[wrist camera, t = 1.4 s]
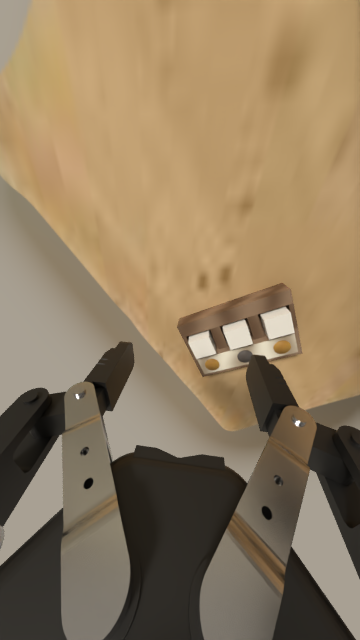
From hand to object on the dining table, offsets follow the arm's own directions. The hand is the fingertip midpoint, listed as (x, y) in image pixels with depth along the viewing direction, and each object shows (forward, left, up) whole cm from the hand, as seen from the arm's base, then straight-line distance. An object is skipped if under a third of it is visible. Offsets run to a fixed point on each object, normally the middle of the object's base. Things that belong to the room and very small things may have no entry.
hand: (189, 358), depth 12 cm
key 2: (-9, +10, -17) cm, 22 cm away
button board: (-3, +11, -19) cm, 22 cm away
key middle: (-3, +10, -17) cm, 20 cm away
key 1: (+3, +10, -17) cm, 20 cm away
